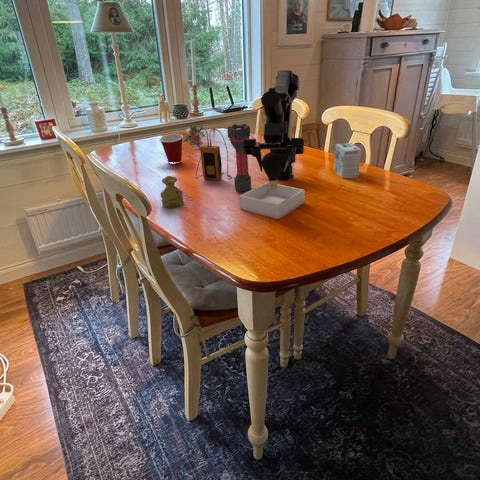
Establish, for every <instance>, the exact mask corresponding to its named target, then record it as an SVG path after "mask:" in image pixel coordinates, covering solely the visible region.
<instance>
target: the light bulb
mask: <svg viewBox="0 0 480 480" xmlns="http://www.w3.org/2000/svg"><path fill="white" fill-rule="evenodd" d="M283 163H284V162H283V158H282V156H281V155H280V154H279V153H276V152H270V151H269V152H267V153H265V154H264V156H263V157H262V170H263V171H264V173H265V175H266V176H267V178H268V182H269V189H270V190H276V189H277V184H278V179H277V177H278V175H279V174H280V172H281V170H282V168H283Z"/></svg>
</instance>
